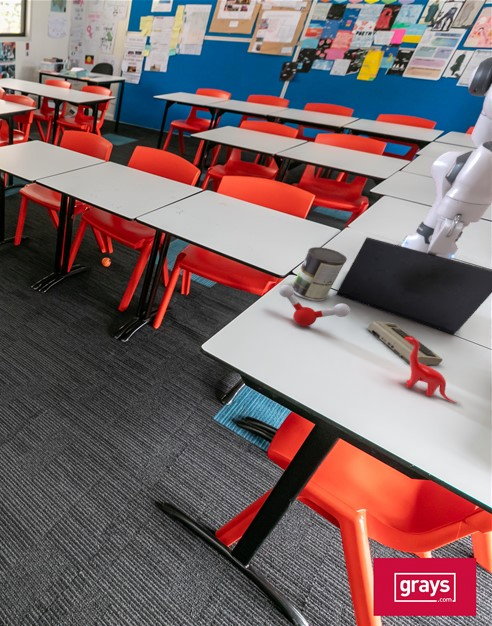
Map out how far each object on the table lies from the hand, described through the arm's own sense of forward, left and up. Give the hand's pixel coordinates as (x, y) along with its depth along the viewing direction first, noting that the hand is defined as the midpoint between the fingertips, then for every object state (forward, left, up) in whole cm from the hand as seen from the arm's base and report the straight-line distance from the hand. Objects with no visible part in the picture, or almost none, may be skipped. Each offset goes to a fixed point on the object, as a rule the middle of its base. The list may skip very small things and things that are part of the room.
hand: (428, 257), depth 116 cm
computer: (+15, +5, -20) cm, 26 cm away
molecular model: (+24, -18, -20) cm, 37 cm away
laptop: (-14, 0, -20) cm, 25 cm away
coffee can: (+2, -22, -20) cm, 30 cm away
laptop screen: (-1, 0, -8) cm, 8 cm away
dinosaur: (+33, +10, -20) cm, 40 cm away
